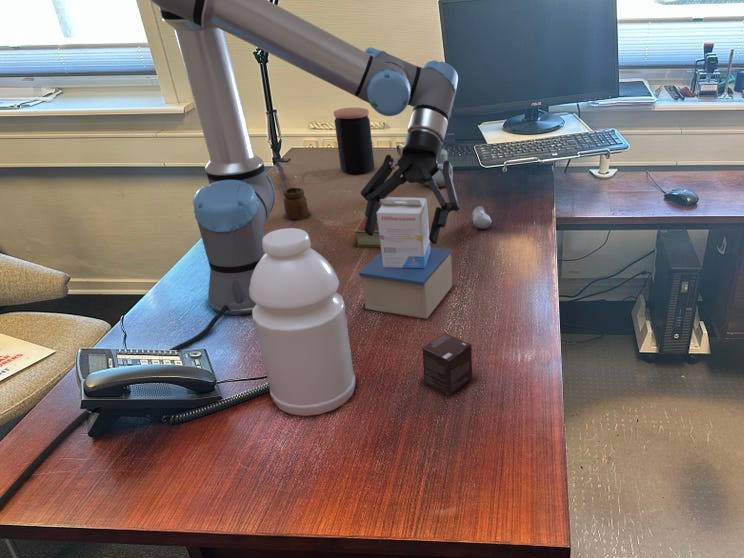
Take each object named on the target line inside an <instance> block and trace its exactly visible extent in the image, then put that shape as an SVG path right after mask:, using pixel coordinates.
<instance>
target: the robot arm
mask: <svg viewBox="0 0 744 558" xmlns="http://www.w3.org/2000/svg"><path fill="white" fill-rule="evenodd" d="M150 2H152V3H153V4H154V5H155V6H158V8H159V11H160V15H161V18H162V21H163V22H164V23H165V24H167V25H168V26H170V27H171V28H172V29H173V31H174V32H175V37H176V40H177V43H178V47H179V51H180V54H181V58H182V61H183V65H184V69H185V72H186V76H187V80H188V83H189V87H190V90H191V94H192V97H193V101H194V105H195V108H196V113H197V116H198V120H199V123H200V126H201V130H202V134H203V138H204V141H205V144H206V150H207V153H208V155H209V161H208V163H207V164H206V166H205V167H204V171H205V173H206V174H205V175H206V177H207V180H208V185H204V186H201V188H199V189H198V190H197V191H196V193H195V194H194V196H193V200H192V204H193V213H194V218H195V220H196V221H197V226H198V229H199V233H200V236H201V241H202V244H203V248H204V251H205V254H206V259H207V262H208V266H209V270H210V271H209V282H208V291H207V296H208V302H209V305H210V308H211V309H212V310H213V311H215V312H217V313H216V314H215V315H214V316H213V318H211V320H210V321H209V323H208V324H207V325H206V327H205V328H204V329H203V330H202V331H200V332H199V333H198V334H196V335H195V336H193V337H191V338H189V339H188V340H185V341H184V342H181V343H179V344H177V345H175V346H173V347H172V348H169V350H178V351H181V350H183V349H184V348H187V347H189V346H191V345H192V344H194V343H196V342H198V341H200V340H201V339H203V338H204V337H205V336H206V335H208V333H209V332H210V331H211V330H212V328H213V327H214V326H215V324H217V322H218V321H219V320H220V318H221V317H222V316H223V315H227V316H247V315H252V310H253V308H254V307H255V305H256V303H255V302H254V301H253V300H252V299H251V298H250V295H249V286H250V280H251V276H252V273H253V271H254V269H255V267H256V266H257V264H258V262H259V261H260V260H261V258H262V257H263V256H264V254H265V252H264V251H263V246H262V239H263V237H264V236H265V232H264V231H265V230H264V229H265V225H266V223H267V220H268V218H269V216H270V215H271V212H272V211H273V208H274V205H275V199H276V194H275V186H274V184H273V181H272V180H271V178H270V177H269V175H268V174H267V172H266V167H265V163H264V161H263V159H262V158H261V157H260V156H258V155H257V154H255V152H254V150H253V145H252V141H251V137H250V133H249V128H248V125H247V119H246V116H245V111H244V108H243V103H242V100H241V94H240V91H239V86H238V81H237V78H236V74H235V70H234V66H233V61H232V57H231V53H230V49H229V45H228V41H227V36H226V33H227V34H230V35H231V36H234V37H236V38H238V39H240V40H242V41H243V42H246V43H248V44H250V45H252V46H254V47H256V48H258V49H260V50H262V51H264V52H266V53H267V54H270V55H272V56H274V57H276V58H278V59H280V60H282V61H284V62H285V63H288V64H290V65H292V66H294V67H296V68H298V69H300V70H302V71H303V72H305V73H308V74H310V75H312V76H314V77H315V78H318V79H320V80H322V81H325V82H327V83H329V84H330V85H331V86H334V87H336V88H339V89H341V90H343V91H345V92H346V93H349V94H351V95H352V96H353V97H356V98H358V99H360V100H362V101H364V102H366V103H368V104H369V105H370V106H371V108H373V109H374V111H375V112H376V113H378V114H379V115H381V116H384V117H385V116H386V117H395V116H397V115H400V114H402V113H403V112H404V111H405V109H406V108H408V106H410V107H413V108H412V111H411V116H410V120H409V123H408V127H407V133H406V135H405V139H404V143H403V147H402V152H401V156H400V157H399V158H395V157H392V156H391V155H390V154H387V155H385V157H384V160H383V163H382V164H381V166H380V167H379V168H378V169H377V171H376V172H375V173H374V175H373V176H372V177H371V178H370V180H369V181H368V182H367V183H366V184H365V186H364V187H363V189H362V190H361V191H360V195H361V196H362V197H363V199H364V200H365V201H367V202H366V203H367V204H366V208H365V211H364V214H365V215H366V216H367V217H368V218H367V222H366V226H365V229H364V231H365V232H366V233H367V234H368V235H369V236H373V234H374V230H375V227H376V223H377V211H378V210H379V208H380V207H381V206H380V205H379V202H380V199H386V197H388V195H390V194H391V193H392V192H394V191H395V190H396V189H397V188H398V187H399V186H401V185H404V184H406V183H407V182H408V184H419V185H424V184H425V182H428V184H429V186H428V187H430V189H431V191H432V193H433V195H434V196H435V198H436V200H437V202H438V204H439V206H440V207H439V206H437V207H435V211H434V216H433V220H432V224H431V227H430V230H429V240H430V243H431V245H437V244H438V239H439V236H440V231H441V228H446V225H447V221H448V217H449V214H450V212H453V211H454V212H458V211H460V204H459V200H458V196H457V192H456V188H455V184H454V180H453V179H452V170H453V168H454V167H453V166H452V164H451V163H450V161H449V160H448V159H447V160H446V161H444V163H438V161H439V159H440V155H441V151H442V149H443V145H444V144H443V143H444V142H445V138H446V134H447V130H448V125H449V121H450V117H451V114H452V110H453V106H454V102H455V98H456V97H457V89H458V82H459V76H458V72H457V71H456V69H455V68H454V67H453V66H452V65H451V64H449V63H447V62H445V61H438V60H429V61H427V62H426V63H425V64H424V66H423V67H420V66H419V65H415V64H413V63H411V62H408V61H406V60H403V59H402V58H399V57H396V56H394V55H392V54H390V53H388V52H386V51H384V50H380V49H377V48H374V47H371V46H370V47H367V48H365V51H364V50H362V49H360V48H359V47H356V46H355V45H353V44H351V43H349V42H348V41H345V40H344V39H342V38H340V37H338V36H336V35H334V34H332V33H330V32H328V31H326V30H325V29H323V28H321V27H318V26H317V25H315V24H313V23H311V22H309V21H308V20H305V19H304V18H301V17H300V16H298V15H297V14H295V13H292V12H291V11H289V10H287V9H285V8H283V7H281V6H279V5H277V4H276V3H274V2H271V1H269V0H150ZM397 167H398V168H397ZM396 168H397V169H396ZM438 170H440V172H441V173H442V174H443V177H444V181H445V185H446V186H445V188H446V192H447V196H448V201H449V202H448V201H446V199H445V198H444V196H443V194H442V192H441V190H440V188H439V187H437V185H436V183H435V181H434V180H433V178H432V176H433V175H434V174H435V173H437V172H438ZM393 171H394V172H393ZM453 171H454V170H453ZM392 172H393V173H392ZM391 174H392V175H391ZM86 410H87V409H85V410H84V411H83V412H82V413H81V414H80V415H79V416H77V417H76V418H75V419H74V420H73V421H72V422H71V423H70V424H69V425H68V426H66V427H65V428H64V429H63V430H62V431H61V432H60V433H59V434H58V435H57V436H56V437H55V438H54V439H53V440H52V441H51V442H50V443H49V444H48V445H47V446H46V447H45V448H43V450H42V451H41V452H40V454H38V455H37V456H36V457H35V458H34V459H33V461H32V462H31V463H30V464H29V465H27V467H26V468H25V469H24V470H23V471H22V472H21V474H19V476H18V477H17V478H16V479H15V481H14V482H13V483H12V484H11V485H10V486H9V487H8V489H6V490H5V491H4V493H2V495H0V509H1V508H2V507H4V505H5V504H6V503H7V501H8V500H9V499H10V498H11V497H12V496H13V495H14V494H15V492H16V491H18V489H19V488H20V487H21V486H22V484H23V483H24V482H25V481H26V480H27V478H29V477H30V475H31V474H32V473H33V472H34V471H35V470H36V469H37V468H38V466H40V464H41V463H43V461H44V460H45V459H46V458H47V457H48V456H49V455H50V454H51V453H52V451H53V450H55V448H56V447H57V446H58V445H60V443H61V442H62V441H63V440H64V439H66V437H68V436H69V434H71V433H72V432H73V431H74V430H75V429H76V428H77V427H78V426H79V425H80V424H81V423H82V422H83V421H85V419H86V418H88V417H89V416H90V415H91V414H90V413H89V412H87V411H86Z"/></svg>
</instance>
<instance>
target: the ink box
mask: <svg viewBox="0 0 744 558" xmlns="http://www.w3.org/2000/svg"><path fill="white" fill-rule="evenodd" d="M380 201H381V203H382V205H381V207H380V208H379V210H378V211H377V221H378V229H379V237H380V245H381V247H380V252H381V253H382V261H383V267H384V268H424V269H425V266H426V264H427V261H428V258H429V255H430V252H431V249H430V247H431V241H430V240H429V235H430V223H429V221H430V220H429V209H428V208H429V207H428V198H427V197H401V196H399V197H396V196H386V197H385V198H384V199H380Z"/></svg>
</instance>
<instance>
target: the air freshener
mask: <svg viewBox="0 0 744 558" xmlns="http://www.w3.org/2000/svg"><path fill="white" fill-rule="evenodd" d="M446 160H448V151H447V150H446V149H445V148H442V151H441V155H440V159H439V161H438V163H444V161H446ZM453 176H454V170H452V180H453V178H454V177H453ZM432 178H433V180H434V181H435V183H436V185H437V187H438V188H444V187H445V188H446V185H445V181H444V177H443V174H442V173H441V172H440V170H438V172H437V173H435V174H434V175H433V176H432ZM424 185H426V186H428V187H430V186H429V184H428V182H425V183H424Z"/></svg>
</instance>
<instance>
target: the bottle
mask: <svg viewBox="0 0 744 558" xmlns="http://www.w3.org/2000/svg"><path fill="white" fill-rule="evenodd" d="M262 246H263V251H264V252H265V254H264V256H263V257H262V258H261V260H260V261H259V262H258V264H257V266H256V267H255V269H254V271H253V273H252V276H251V280H250V286H249V295H250V298H251V299H252V300H253V301H254V302H255V303H256V305H255V307H254V308H253V310H252V314H251V315H252V322H253V325H254V328H255V333H256V337H257V340H258V344H259V349H260V353H261V357H262V362H263V366H264V369H265V373H266V379H267V382H268V386H269V393H270V397H271V400H272V402H273V403H274V405H276V407H278V408H279V410H281V411H283V412H285V413H287V414H290V415H295V416H303V417H307V416H316V415H321V414H325V413H328V412H331V411H334V410H336V409H338V408H339V407H341V406H343V405H344V404H346V403H347V402H348V400H349V399H351V397H352V396H353V395H354V391H355V388H356V375H355V372H354V365H353V364H354V363H353V358H352V349H351V343H350V338H349V329H348V322H347V314H346V313H347V312H346V305H345V301H344V298H343V296H342V295H341V294H340V293H339V292H337V291H338V288H339V286H340V279H339V276H338V275H337V273H336V271H335V270H334V267H333V266H332V264H331V263H330V262H329V261H328V260H327V259H326V258H325V257H324V256H323V255H322V254H320V253H319V252H317V251H316V250H315V249H313V248H312V247H311V246H312V243H311V239H310V236H309V233H308V232H306V230H303V229H301V228H296V227H295V228H294V227H293V228H291V227H289V228H280V229H275V230H272V231H270V232H268V233H266V234H264V237H263V239H262Z"/></svg>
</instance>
